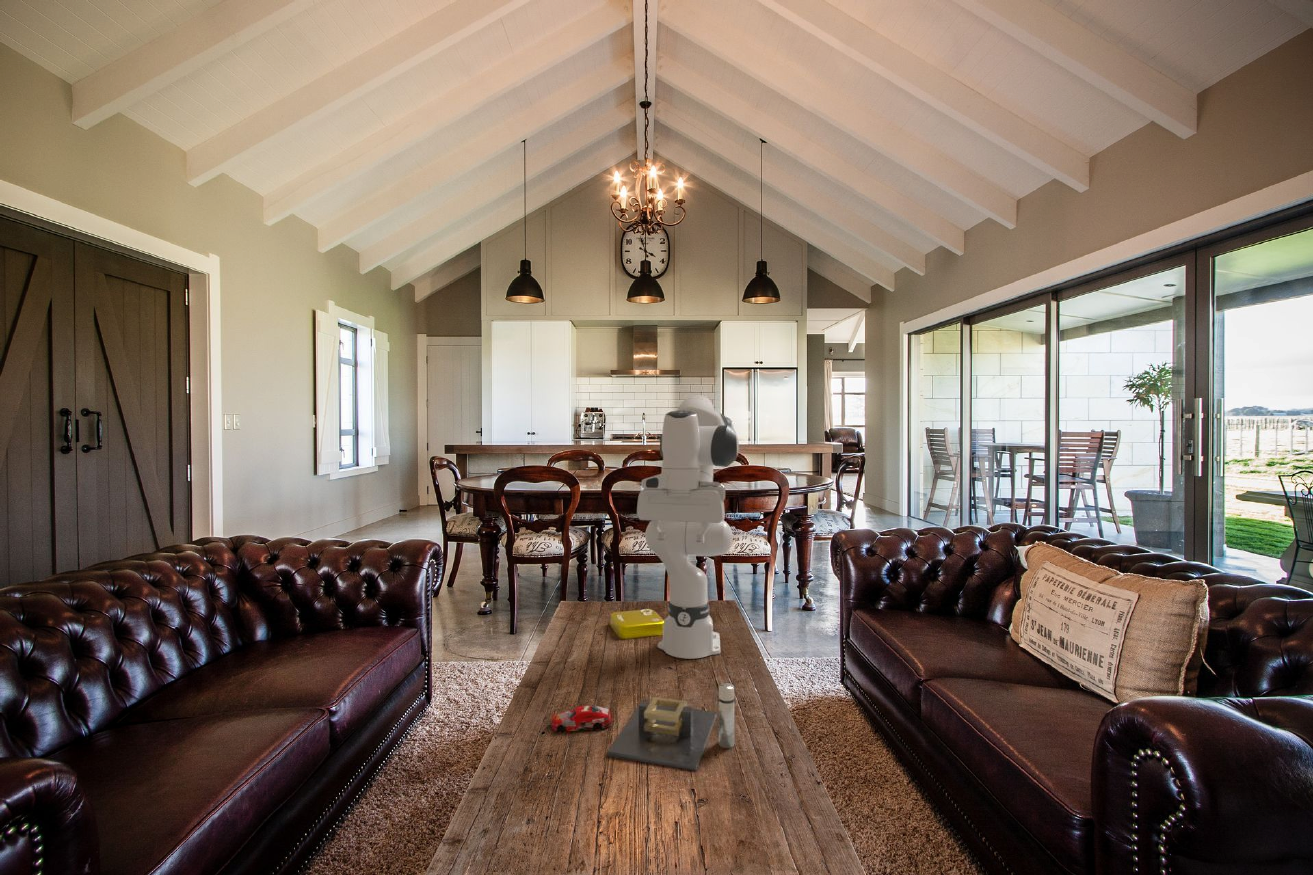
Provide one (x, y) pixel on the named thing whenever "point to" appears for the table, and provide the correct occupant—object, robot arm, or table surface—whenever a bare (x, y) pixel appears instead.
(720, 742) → the metal tube
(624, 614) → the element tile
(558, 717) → the race car
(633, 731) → the collar stand
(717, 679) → the table surface
